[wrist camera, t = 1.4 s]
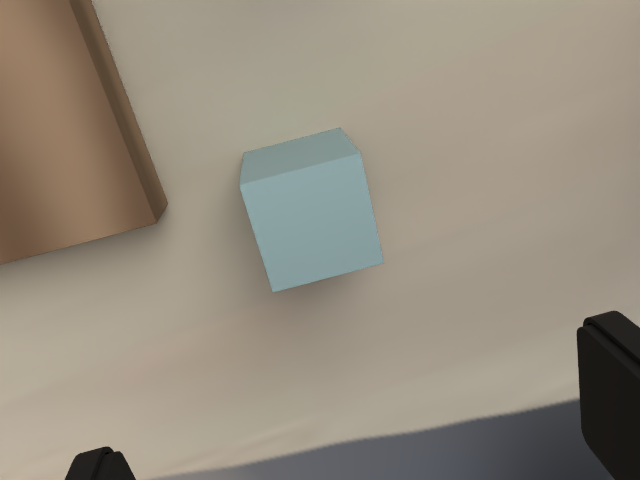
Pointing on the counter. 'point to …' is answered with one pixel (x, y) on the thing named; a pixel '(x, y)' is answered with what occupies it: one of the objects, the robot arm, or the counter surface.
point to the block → (310, 209)
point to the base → (66, 134)
